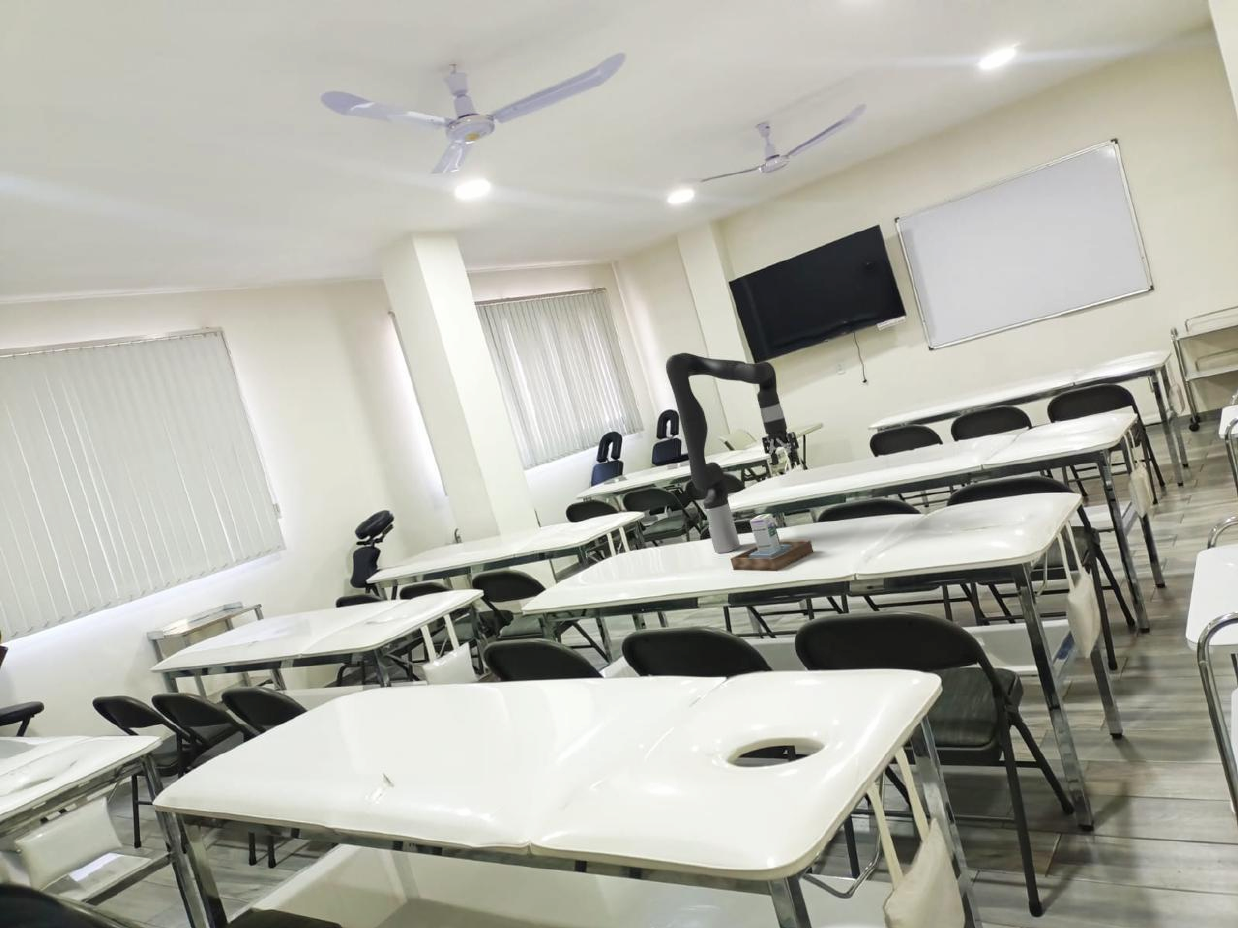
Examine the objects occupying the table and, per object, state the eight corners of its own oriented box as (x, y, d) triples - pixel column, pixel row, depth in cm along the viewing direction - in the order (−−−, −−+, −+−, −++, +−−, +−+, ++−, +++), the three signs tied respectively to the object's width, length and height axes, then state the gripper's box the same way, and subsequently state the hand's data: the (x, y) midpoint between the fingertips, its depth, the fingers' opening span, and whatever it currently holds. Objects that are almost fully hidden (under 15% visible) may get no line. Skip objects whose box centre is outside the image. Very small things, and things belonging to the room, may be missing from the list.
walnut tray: (733, 569, 273) (730, 558, 273) (770, 552, 283) (767, 541, 283) (776, 571, 257) (772, 558, 257) (813, 552, 267) (810, 540, 267)
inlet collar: (751, 563, 271) (749, 554, 271) (771, 553, 277) (769, 544, 277) (772, 563, 263) (770, 554, 263) (793, 553, 269) (791, 544, 268)
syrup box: (776, 560, 266) (764, 517, 265) (760, 561, 270) (749, 519, 269) (783, 554, 271) (772, 512, 270) (768, 556, 275) (757, 515, 273)
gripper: (751, 423, 287) (763, 468, 288) (780, 418, 275) (793, 464, 276) (766, 418, 291) (778, 462, 292) (795, 413, 279) (807, 458, 280)
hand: (785, 463), depth 284 cm, fingers open, 8 cm apart
